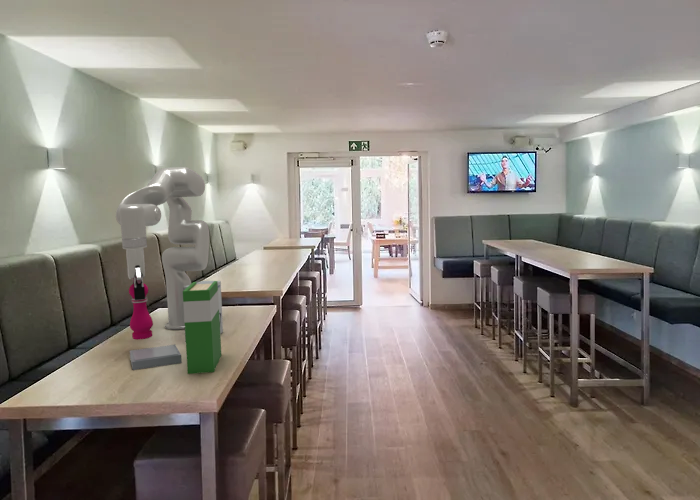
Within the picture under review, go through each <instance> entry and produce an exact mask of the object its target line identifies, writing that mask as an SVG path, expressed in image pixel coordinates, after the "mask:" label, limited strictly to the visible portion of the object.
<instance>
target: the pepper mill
mask: <svg viewBox="0 0 700 500" xmlns="http://www.w3.org/2000/svg"><path fill="white" fill-rule="evenodd" d="M143 285H144V289H145V299H141V300H135V298H134V288H135V287H134V284H133V283H132V284H131V285H130V286H129V288H128V293H129V295H130V297H131V298H130V299H131V303H132V306H133V312H132V316H131V317H130V322H129V328H130V329H131V330H132V331H133V332H132V333H131V336H132V339H133V340H146V339H150V338H152V337H153V331H152V328H153V325H154V322H153V318H152V316H151V314H150V312H149V310H148V307H147V302H148V296H147V295H148V294H149V286H148V285H147V284H146V283H144V282H143Z"/></svg>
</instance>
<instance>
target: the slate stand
mask: <svg viewBox="0 0 700 500" xmlns="http://www.w3.org/2000/svg"><path fill="white" fill-rule="evenodd" d="M129 359H130V363H131V370H133V371H135V370H136V371H137V370H141V369H142V370H143V369H150V368H157V367H161V366H162V367H163V366H169V365H175V364H176V365H177V364H182V363H183V362H182V354H181V352H180V350H179V349H178V346H177V345H176V344H168V345H167V344H166V345H159V346H154V347H146V348H140V349H139V348H138V349H131V350H129Z"/></svg>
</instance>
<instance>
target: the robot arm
mask: <svg viewBox="0 0 700 500" xmlns="http://www.w3.org/2000/svg"><path fill="white" fill-rule="evenodd" d="M205 189H206V185H205V180H204V179H203V177H202V176H201V175H200V174H199V173H197V172H196V171H195V170H193V169H192V168H189V167H187V166H174V167H173V166H172V167H171V166H170V167H163V168H162V167H161V168H159V169H158V170H156V172H155V173H154V175H153V176H152V178H151V179H150V181H149V182H148V184H146V186H143V187H141V188H139V189H137V190H135V191H133V192H131V193H129V194H127V195H126V196H125V197H124V198H123V199H122V200H121V202H120V203H119V205H118V206H117V208H116V211H115V218H116V221H117V223H118V225H120V231H121V244H122V245H121V246H122V249H123V250H125V252H126V253H125V254H126V257H125V258H126V267H127V278H128V279H129V280H132V284H134V287H135V288H134V298H135V300H141V299H145V289H144V285H143V283H144V278H145V277H146V267H145V266H146V264H145V262H146V261H145V251H144V249H145V248H148V241H147V240H148V239H147V228H146V227H152V226H156V225H158V224H159V223H160V221H161V219H162V211H161V208H159V206H161V205H163V204H165V203H167V206H168V209H169V211H168V213H169V215H168V216H169V218H168V228H167V229H168V230H167V239H168V241H169V242H170V244H173V245H194V246H174V247H173V246H172V247H169V248H166V249H164V251H163V252H162V255H161V263H162V266H163V270H164V275H165V285H166V287H165V288H166V299H167V301H166V303H167V315H168V317H167V318H168V322H167V323H165V324H164V328H165V329H166V330H185V325H184V305H183V287H184V286H188V285H191V284H192V281H191V278H190V277H189V275H188V274H187V273H186V272H197V271H198V272H200V271H204V270H205V269H206V268H207V267H208V263H209V252H210V250H209V249H210V228H209V225H208V223H207V222H206V221H204V220H199V219H198V220H197V219H195V220H192V208H191V206H190V204H189V203H188V202H187V201H186V200H185V199H184V198H194V197H195V198H196V197H201V196H203V194H204V193H205Z"/></svg>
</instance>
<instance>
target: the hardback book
mask: <svg viewBox="0 0 700 500" xmlns="http://www.w3.org/2000/svg"><path fill="white" fill-rule="evenodd" d="M213 281H214V282H213V283H212V284H197V281H193V282H191V285H189V286H188V287H187V288H186V289H185V290H184V291H183V305H184V322H185V329H184V339H185V338H186V342H185V350H186V351H185V352H186V354H185V355H186V369H187V375H190V374H191V375H192V374H206V373H207V374H208V373H215V371H216V369H217V366H218V364H219V362H220V360H221V357H222V342H221V341H222V340H221V339H222V338H221V334H220V319H219V301H218V283H217V281H218V280H213Z"/></svg>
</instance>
